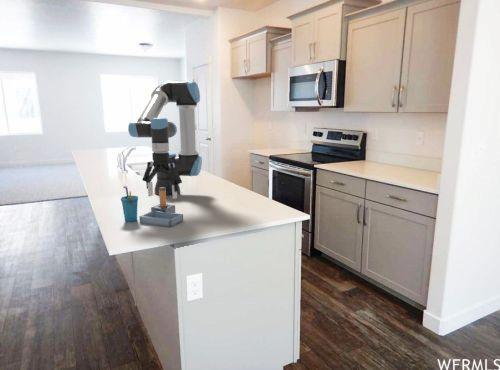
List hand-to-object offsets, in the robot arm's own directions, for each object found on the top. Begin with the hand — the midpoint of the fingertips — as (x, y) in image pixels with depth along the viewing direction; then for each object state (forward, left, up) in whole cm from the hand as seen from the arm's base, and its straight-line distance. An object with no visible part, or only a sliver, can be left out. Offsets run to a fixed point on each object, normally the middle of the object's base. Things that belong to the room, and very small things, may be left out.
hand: (162, 197), depth 170 cm
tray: (+6, -10, -9) cm, 14 cm away
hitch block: (0, 0, -9) cm, 9 cm away
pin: (0, 0, -9) cm, 9 cm away
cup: (-9, -13, -9) cm, 18 cm away
